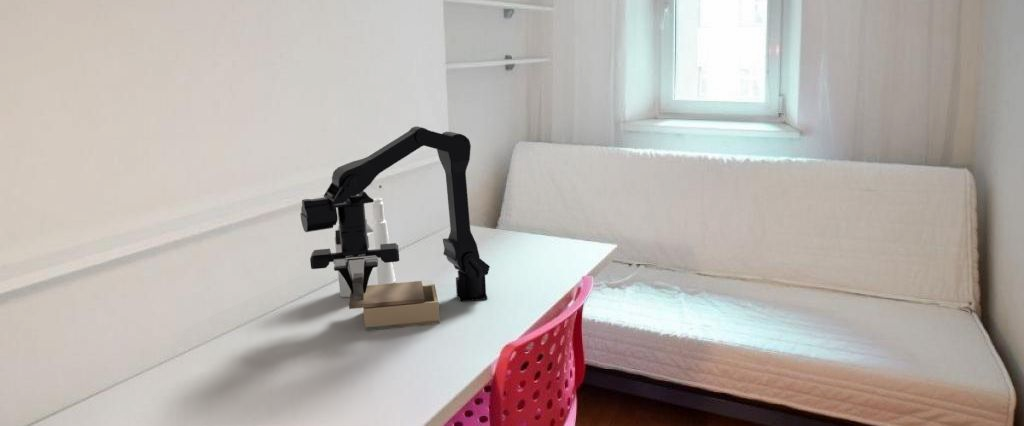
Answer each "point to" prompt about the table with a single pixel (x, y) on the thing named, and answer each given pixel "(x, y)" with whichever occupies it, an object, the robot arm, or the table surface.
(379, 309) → the box
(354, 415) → the table surface
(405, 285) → the lid
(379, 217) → the cosmetic bottle
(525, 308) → the table surface
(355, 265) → the milk carton
